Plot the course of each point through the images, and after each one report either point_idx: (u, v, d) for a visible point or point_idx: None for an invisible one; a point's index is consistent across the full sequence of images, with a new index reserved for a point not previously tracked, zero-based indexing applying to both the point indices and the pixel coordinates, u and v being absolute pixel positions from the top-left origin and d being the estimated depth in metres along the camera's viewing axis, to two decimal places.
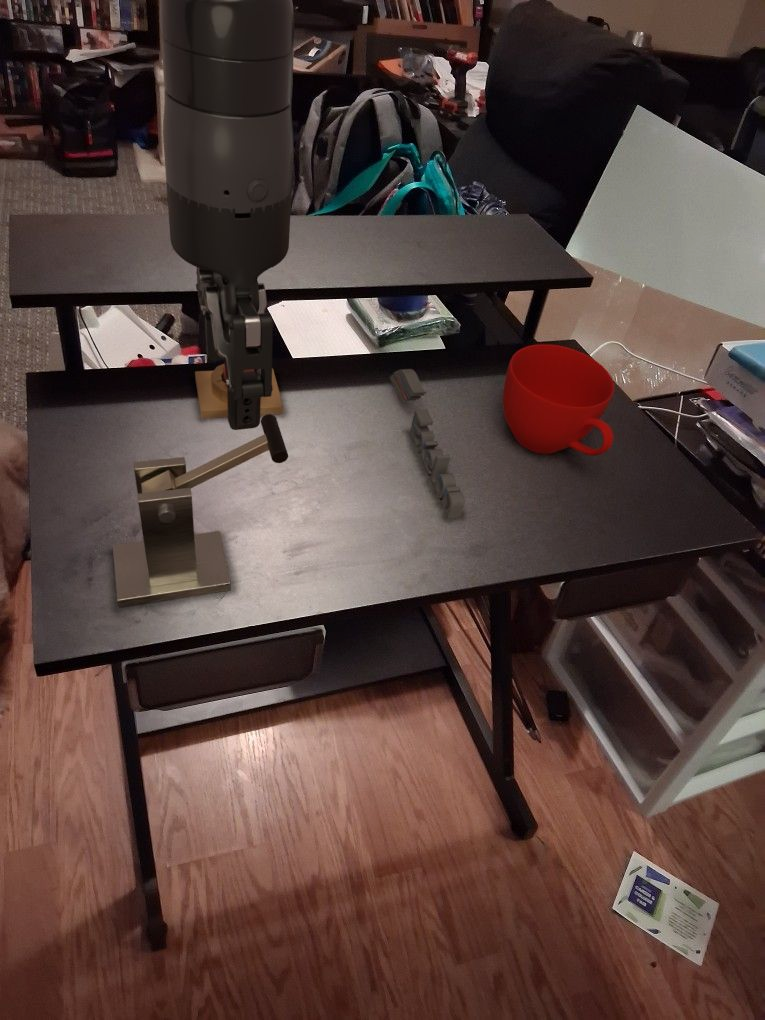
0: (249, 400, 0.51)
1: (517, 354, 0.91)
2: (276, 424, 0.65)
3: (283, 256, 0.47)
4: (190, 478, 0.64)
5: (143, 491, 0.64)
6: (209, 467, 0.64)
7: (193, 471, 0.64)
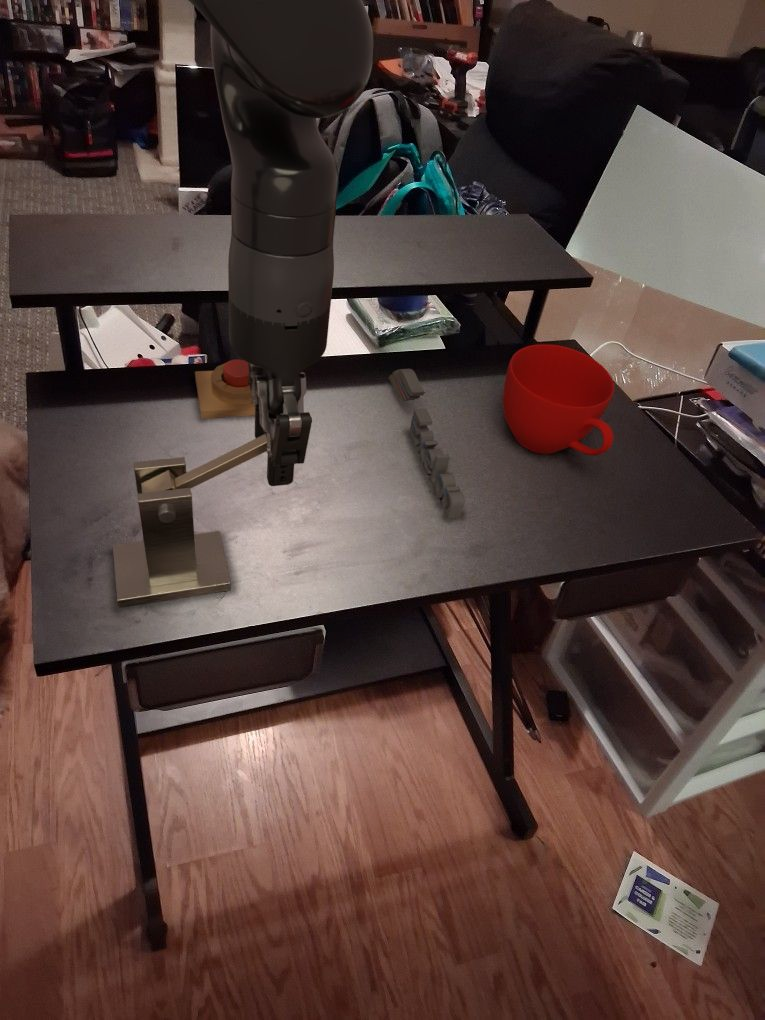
0: None
1: (517, 354, 0.91)
2: None
3: (322, 354, 0.56)
4: (190, 478, 0.64)
5: (143, 491, 0.64)
6: (209, 467, 0.64)
7: (193, 471, 0.64)
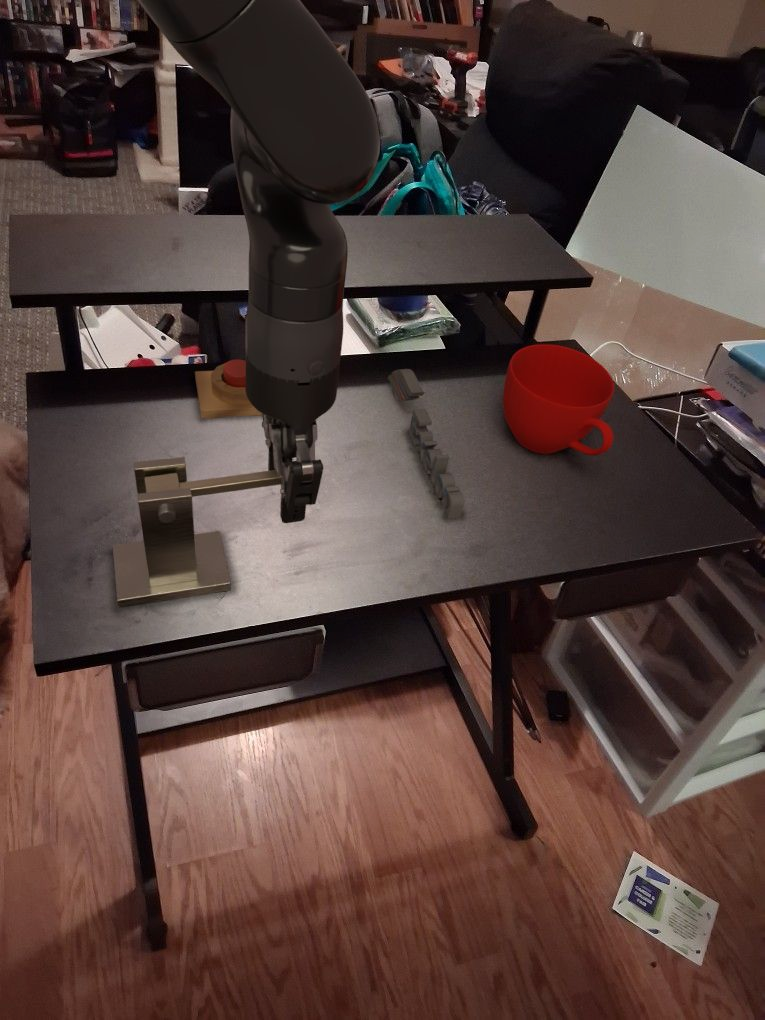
0: None
1: (517, 354, 0.91)
2: None
3: (332, 404, 0.60)
4: (197, 487, 0.65)
5: (147, 485, 0.64)
6: (218, 483, 0.66)
7: (201, 482, 0.66)
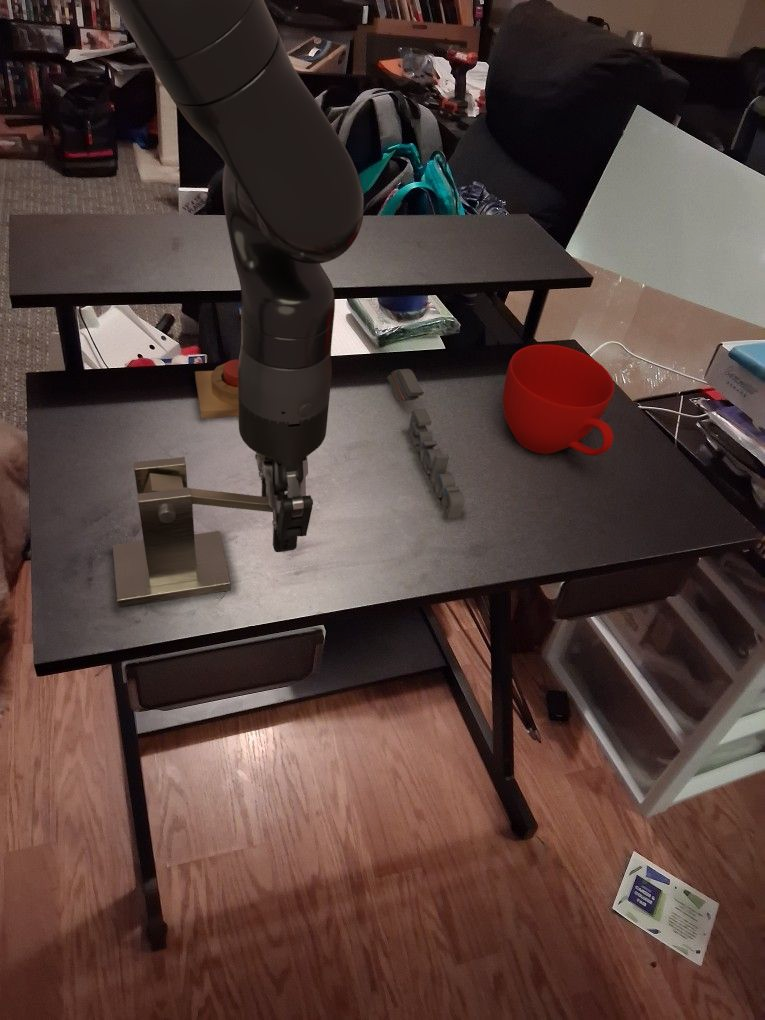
0: None
1: (517, 354, 0.91)
2: None
3: None
4: (198, 495, 0.66)
5: (152, 481, 0.63)
6: (218, 496, 0.67)
7: (201, 491, 0.66)
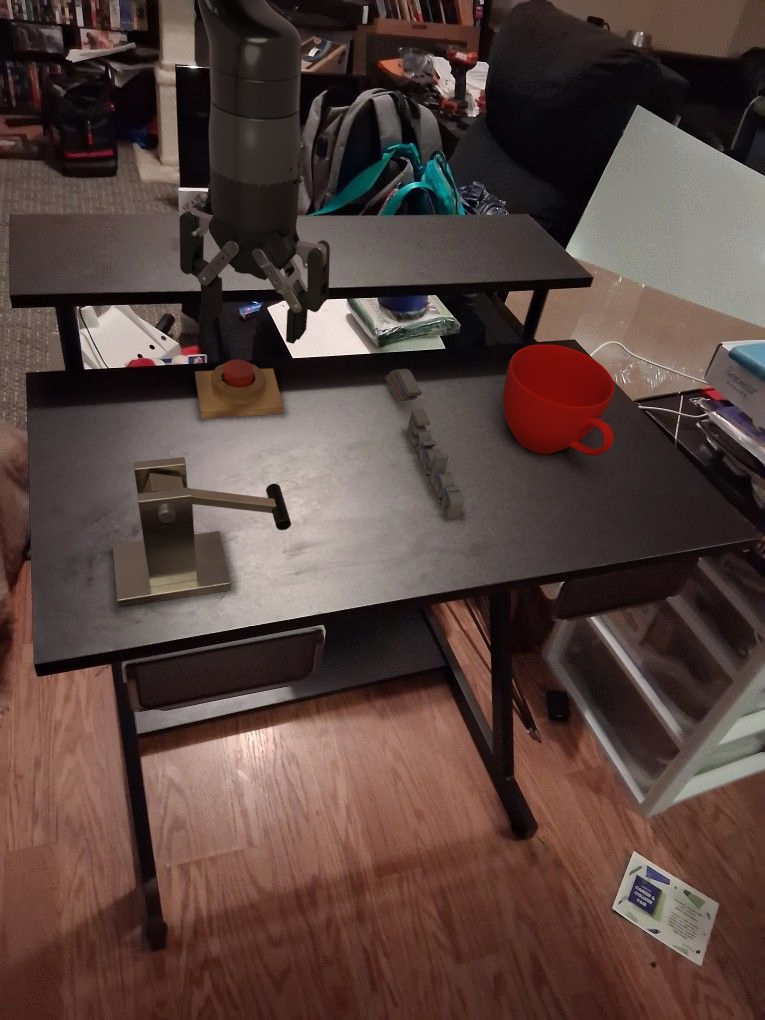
0: None
1: (517, 354, 0.91)
2: (282, 496, 0.71)
3: None
4: (198, 496, 0.66)
5: (152, 481, 0.63)
6: (218, 497, 0.67)
7: (201, 491, 0.66)
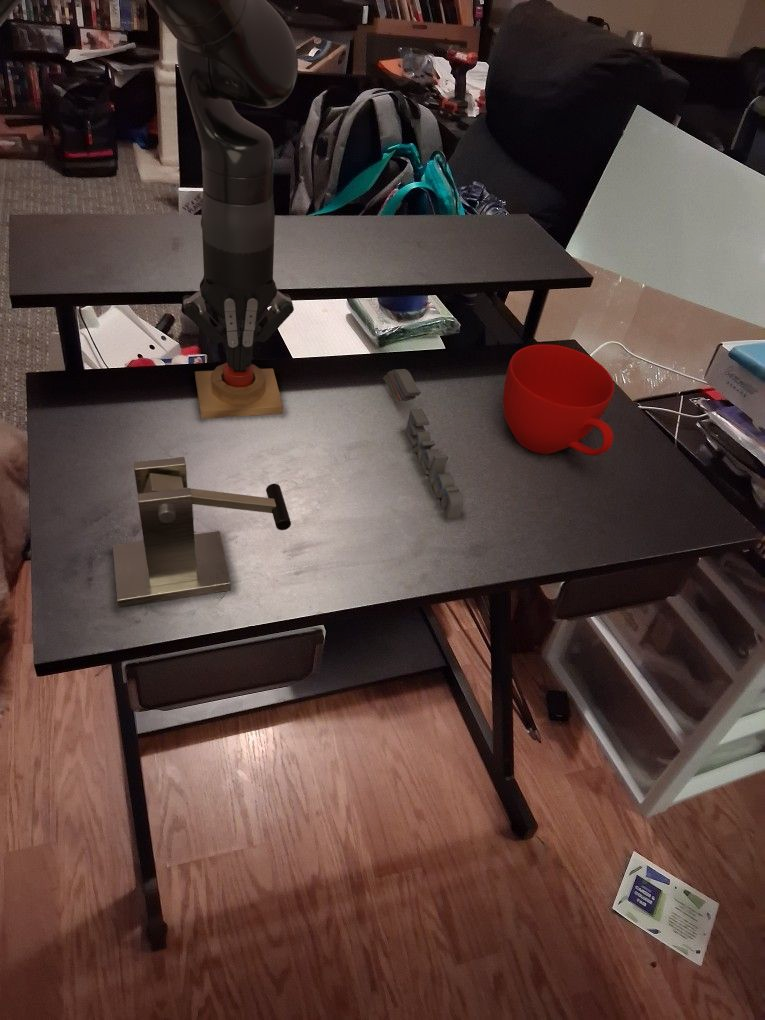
0: None
1: (517, 354, 0.91)
2: (282, 496, 0.71)
3: None
4: (198, 496, 0.66)
5: (152, 481, 0.63)
6: (218, 497, 0.67)
7: (201, 491, 0.66)
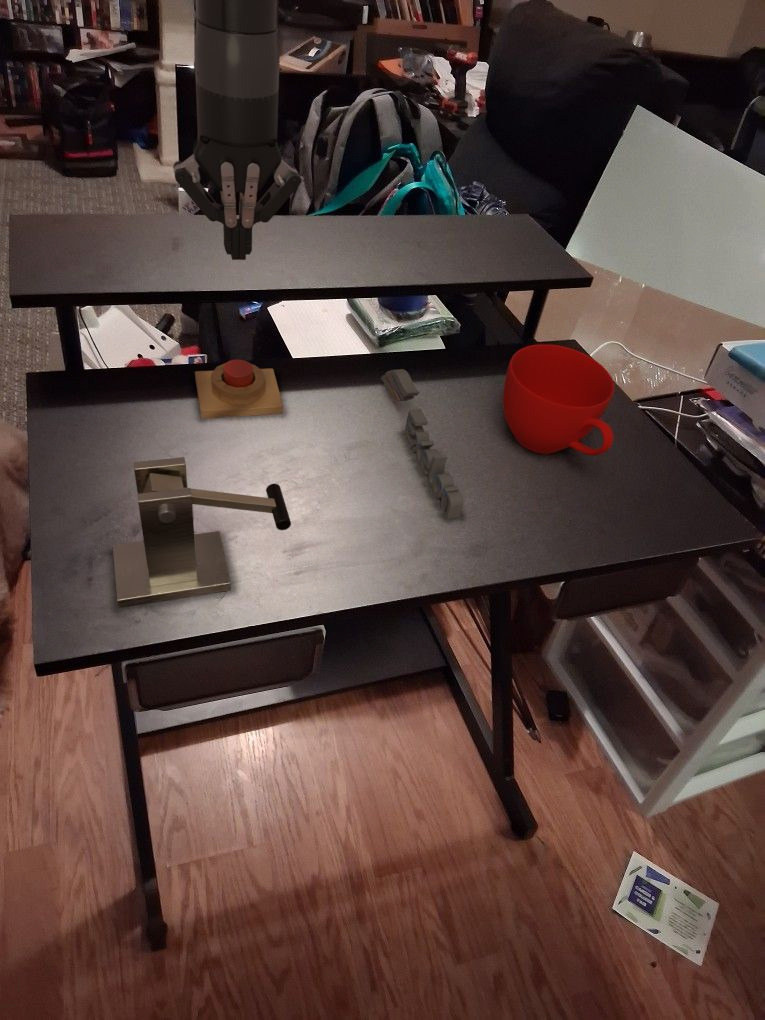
0: None
1: (517, 354, 0.91)
2: (282, 496, 0.71)
3: None
4: (198, 496, 0.66)
5: (152, 481, 0.63)
6: (218, 497, 0.67)
7: (201, 491, 0.66)
